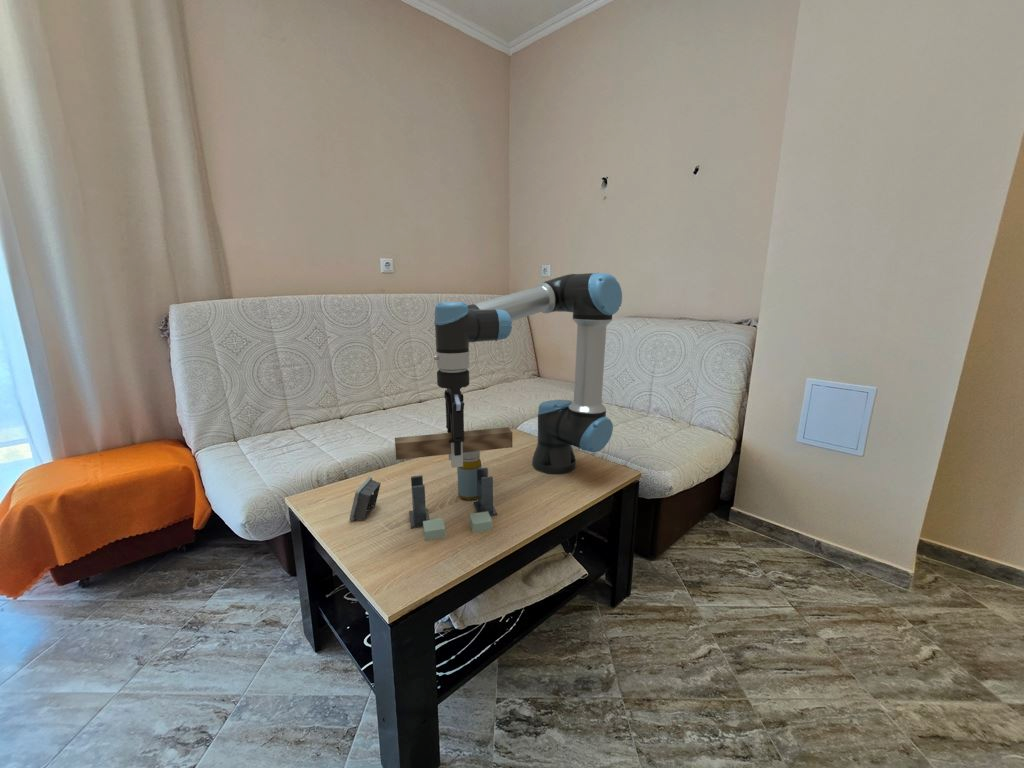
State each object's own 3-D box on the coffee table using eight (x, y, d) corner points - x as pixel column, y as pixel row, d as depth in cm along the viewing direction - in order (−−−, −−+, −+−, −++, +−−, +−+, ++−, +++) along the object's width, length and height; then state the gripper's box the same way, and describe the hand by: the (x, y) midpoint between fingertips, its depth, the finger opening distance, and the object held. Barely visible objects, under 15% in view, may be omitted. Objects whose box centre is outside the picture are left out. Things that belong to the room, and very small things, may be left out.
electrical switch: (363, 504, 119) (364, 474, 117) (381, 506, 119) (382, 477, 117) (348, 522, 110) (349, 490, 108) (367, 524, 110) (368, 493, 108)
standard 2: (490, 501, 121) (490, 466, 119) (497, 515, 114) (497, 477, 111) (473, 503, 120) (472, 468, 117) (479, 518, 112) (478, 480, 110)
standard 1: (427, 510, 116) (425, 473, 114) (430, 525, 109) (428, 486, 106) (409, 513, 115) (406, 476, 112) (410, 528, 107) (408, 489, 105)
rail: (507, 441, 108) (507, 427, 107) (512, 447, 104) (512, 432, 103) (395, 453, 100) (394, 437, 99) (396, 460, 96) (395, 443, 95)
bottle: (478, 502, 121) (477, 453, 117) (455, 499, 122) (453, 451, 119) (484, 491, 127) (483, 444, 124) (462, 488, 129) (461, 443, 125)
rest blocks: (488, 519, 111) (487, 511, 111) (492, 529, 107) (492, 521, 106) (423, 529, 107) (422, 521, 106) (425, 541, 102) (424, 531, 101)
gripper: (432, 363, 104) (436, 451, 109) (441, 377, 88) (445, 479, 94) (462, 362, 106) (464, 448, 112) (476, 375, 90) (478, 475, 96)
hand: (455, 462), depth 103 cm, fingers closed on rail, 4 cm apart
